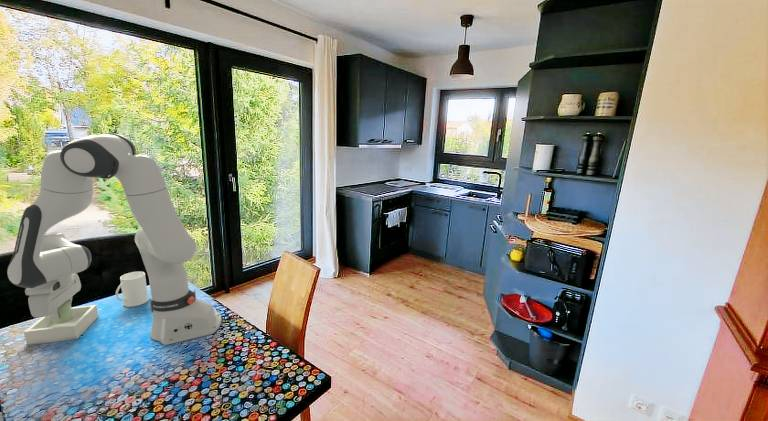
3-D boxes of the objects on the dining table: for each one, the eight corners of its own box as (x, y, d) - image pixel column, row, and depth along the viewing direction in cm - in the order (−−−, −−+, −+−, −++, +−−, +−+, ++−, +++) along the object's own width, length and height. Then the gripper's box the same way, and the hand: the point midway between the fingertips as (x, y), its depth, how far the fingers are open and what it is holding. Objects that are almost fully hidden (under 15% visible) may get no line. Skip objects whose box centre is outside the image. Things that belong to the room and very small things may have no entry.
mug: (125, 312, 122) (121, 285, 119) (109, 308, 124) (104, 281, 121) (153, 298, 133) (150, 272, 130) (138, 295, 135) (135, 269, 132)
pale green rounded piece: (58, 317, 110) (54, 302, 109) (75, 315, 112) (73, 300, 110) (48, 325, 105) (45, 309, 104) (67, 322, 107) (64, 307, 106)
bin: (98, 316, 118) (96, 304, 117) (77, 338, 105) (74, 325, 104) (54, 321, 114) (51, 309, 113) (26, 345, 101) (23, 331, 100)
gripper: (61, 267, 113) (68, 301, 116) (20, 293, 95) (29, 333, 98) (83, 265, 116) (89, 299, 119) (47, 291, 97) (55, 329, 100)
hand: (61, 314), depth 108 cm, fingers closed on pale green rounded piece, 5 cm apart
